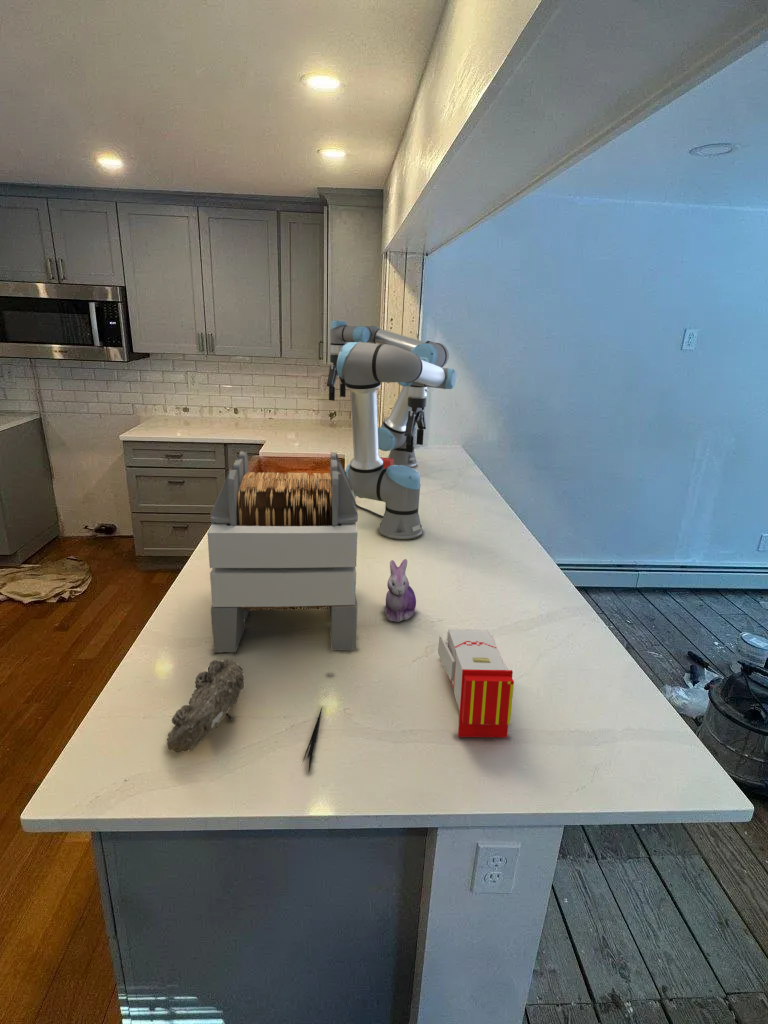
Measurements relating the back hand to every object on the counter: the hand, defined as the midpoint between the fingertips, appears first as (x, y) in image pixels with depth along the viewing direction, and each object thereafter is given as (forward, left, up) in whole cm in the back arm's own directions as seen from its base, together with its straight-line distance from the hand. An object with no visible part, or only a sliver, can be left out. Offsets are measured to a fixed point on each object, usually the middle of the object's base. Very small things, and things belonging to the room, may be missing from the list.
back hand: (337, 398), depth 281 cm
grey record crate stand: (+151, +41, -31) cm, 160 cm away
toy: (+168, +89, -31) cm, 192 cm away
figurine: (+141, +68, -31) cm, 160 cm away
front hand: (+41, +49, -11) cm, 65 cm away
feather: (+185, +62, -31) cm, 198 cm away
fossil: (+191, +43, -31) cm, 198 cm away
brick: (+31, +34, -31) cm, 55 cm away
